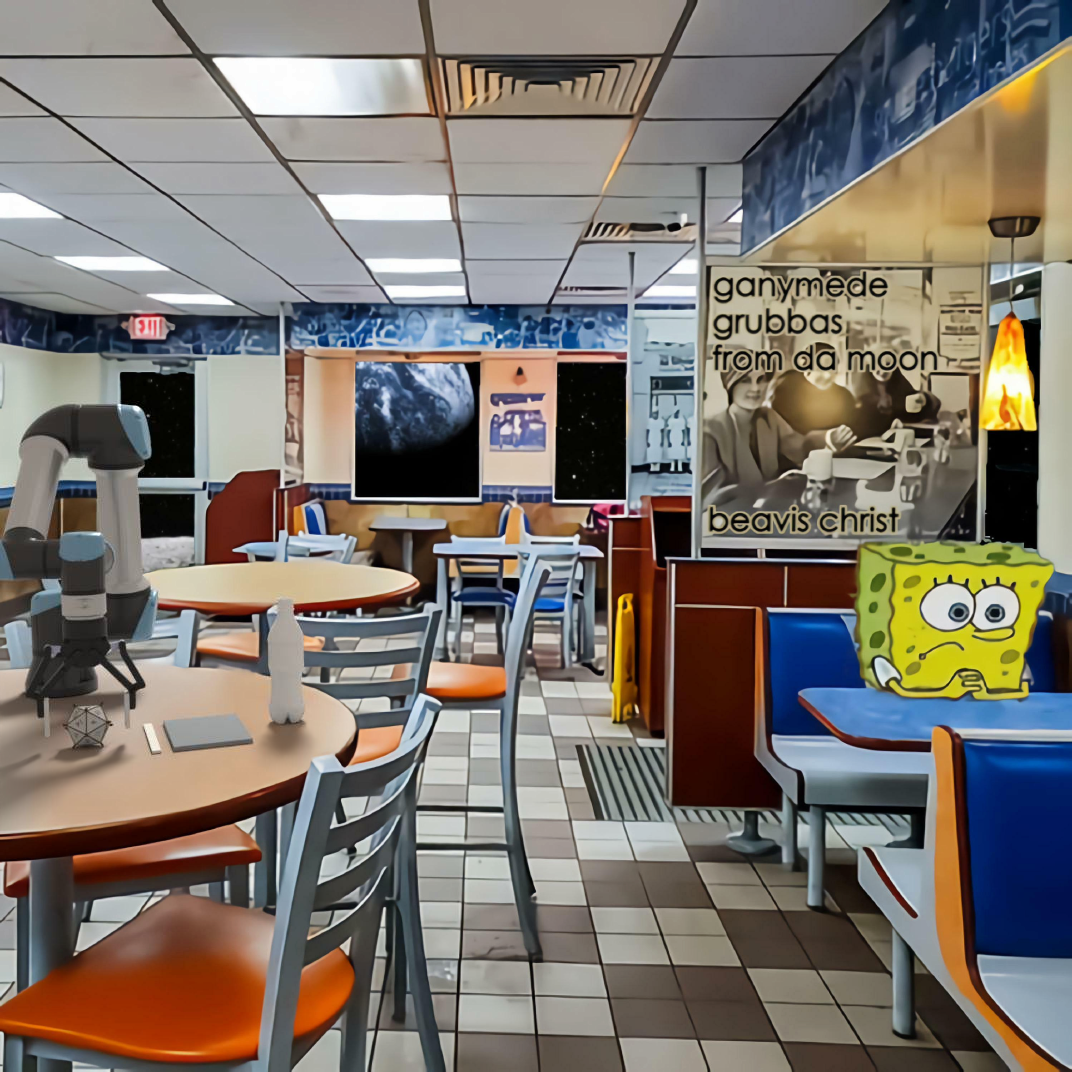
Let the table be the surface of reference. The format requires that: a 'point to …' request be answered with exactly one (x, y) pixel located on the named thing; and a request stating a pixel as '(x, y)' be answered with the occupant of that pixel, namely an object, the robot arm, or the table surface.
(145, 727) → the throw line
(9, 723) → the table surface
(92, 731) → the game die
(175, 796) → the table surface
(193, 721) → the mat
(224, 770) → the table surface
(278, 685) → the water bottle
